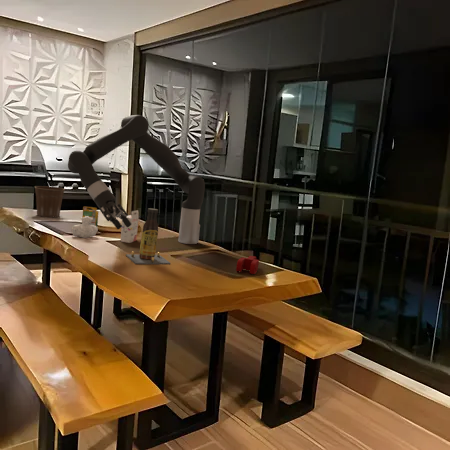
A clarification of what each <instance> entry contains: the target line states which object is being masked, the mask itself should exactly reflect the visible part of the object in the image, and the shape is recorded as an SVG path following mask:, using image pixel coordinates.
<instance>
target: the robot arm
mask: <svg viewBox="0 0 450 450" xmlns="http://www.w3.org/2000/svg"><path fill="white" fill-rule="evenodd" d="M120 123H121V124H120V126H121V127H120V128H119V129H117V130H115V131H112V132H111V133H109V134H106V135H103V136H102V137H100V138H97V139H96V140H94V141H93V142H91V143H89V144H88V145H87V146H86V147H85V149H84V150H83V151H82V150H76V149H75V150H73V151H71V153H70V154H69V156H68V162H67V168H68V170H69V171H70V172H71V173H73V174H77V175H79V179H80V182H81V184H82V186H83V187H84V188H85V189H86V191H87V193H88V194H89V196H90V198H91V199H92V201H94V203H95V204H96V206H97V207H98V208H99V211H100V213H102V215H103V217H104V218H105V220H106V222H109V223H111V224H112V225H114V227H115V229H116V230H121V227H122V223H120V221H121V222H122V221H123V223H124V224H125V225H126V227H129V226H130V225H131V222H130V221H129V220H128V218H127V216H128V215H129V214H128V212H127V211H126V210H125V209H124V207H123V206H122V205H121V203H118V204H116V203H115V201H116V196H115V195H114V193H113V192H112V191H111V190H110V189H109V187H108V186H107V185H106V183H105V182H104V181H103V180H102V178H101V177H100V176H99V175H98V174H97V172H96V170H95V169H94V166H93V164H95V163H96V162H97V161H99V160H100V159H102V158H103V157H105V156H106V155H108V154H110V153H111V152H112V151H115V149H117V148H119V147H121V146H122V145H124V144H126V143H128V142H130V141H132V142H134V143H135V144H136V145H138V146H139V147H140V148H141V149H142V150H143V151H144V152H145V153H146V154H147V155H148V156H149V157H150V158H151V160H153V161H154V162H155V163H156V164H157V166H159V167H160V168H161V169H162V170H163V171H164V172H165V173H166V174H168V176H170V178H172V179H173V180H174V182H175V183H176V184H177V185H178V186H179V188H180V189H181V190H182V191H183V192H184V193H185V194H186V195H187V198H186V199H185V200H184V201H182V203H181V210H180V211H181V212H180V221H179V229H178V230H179V232H178V239H177V240H178V242H179V243H180V244H187V245H195V244H197V243H198V244H199V240H200V228H201V224H200V213H201V207H202V205H203V202H204V198H205V197H204V196H205V191H206V184H205V180H204V179H203V178H202V177H201V176H196V175H192V174H190V173H189V172H187V170H185V169H184V167H182V165H181V163H180V159H179V158H178V155H177V154H175V152H174V151H173V150H172V148H170V147H169V146H168V145H167V144H165V143H164V142H162V141H161V140H160V139H157V138H156V137H154V136H152V135H151V134H150V133H149V132H148V131H149V127H150V126H149V121H148V118H146V117H145V116H143V115H140V114H134V115H133V114H132V115H127V116H125V117H124V118H122V120H121V122H120ZM118 218H119V219H120V221H119V219H118Z"/></svg>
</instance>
